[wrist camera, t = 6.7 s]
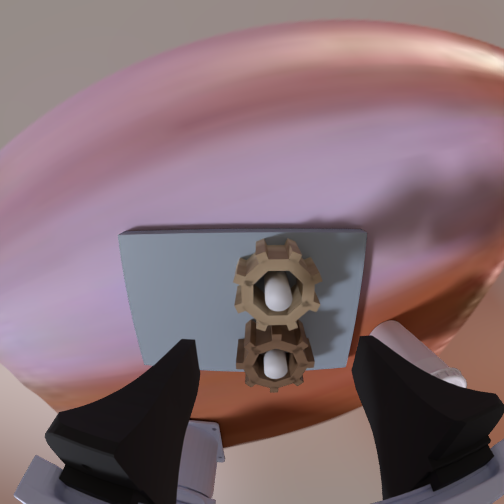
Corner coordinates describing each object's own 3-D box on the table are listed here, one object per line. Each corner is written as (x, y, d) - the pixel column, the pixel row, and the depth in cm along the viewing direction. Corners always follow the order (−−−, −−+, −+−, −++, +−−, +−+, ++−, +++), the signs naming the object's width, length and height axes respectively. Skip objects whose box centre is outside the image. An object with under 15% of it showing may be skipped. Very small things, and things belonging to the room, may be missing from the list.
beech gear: (310, 308, 20) (317, 329, 17) (238, 309, 20) (235, 331, 17) (315, 238, 19) (324, 250, 16) (235, 238, 19) (231, 251, 16)
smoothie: (425, 318, 22) (508, 417, 8) (388, 369, 24) (443, 477, 10) (379, 297, 21) (471, 419, 8) (340, 355, 23) (387, 488, 10)
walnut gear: (315, 354, 21) (321, 378, 19) (255, 374, 22) (255, 398, 19) (294, 303, 20) (299, 324, 17) (228, 326, 21) (224, 350, 18)
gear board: (342, 358, 23) (356, 393, 19) (148, 356, 23) (131, 389, 19) (361, 229, 19) (387, 246, 15) (124, 231, 20) (93, 248, 15)
